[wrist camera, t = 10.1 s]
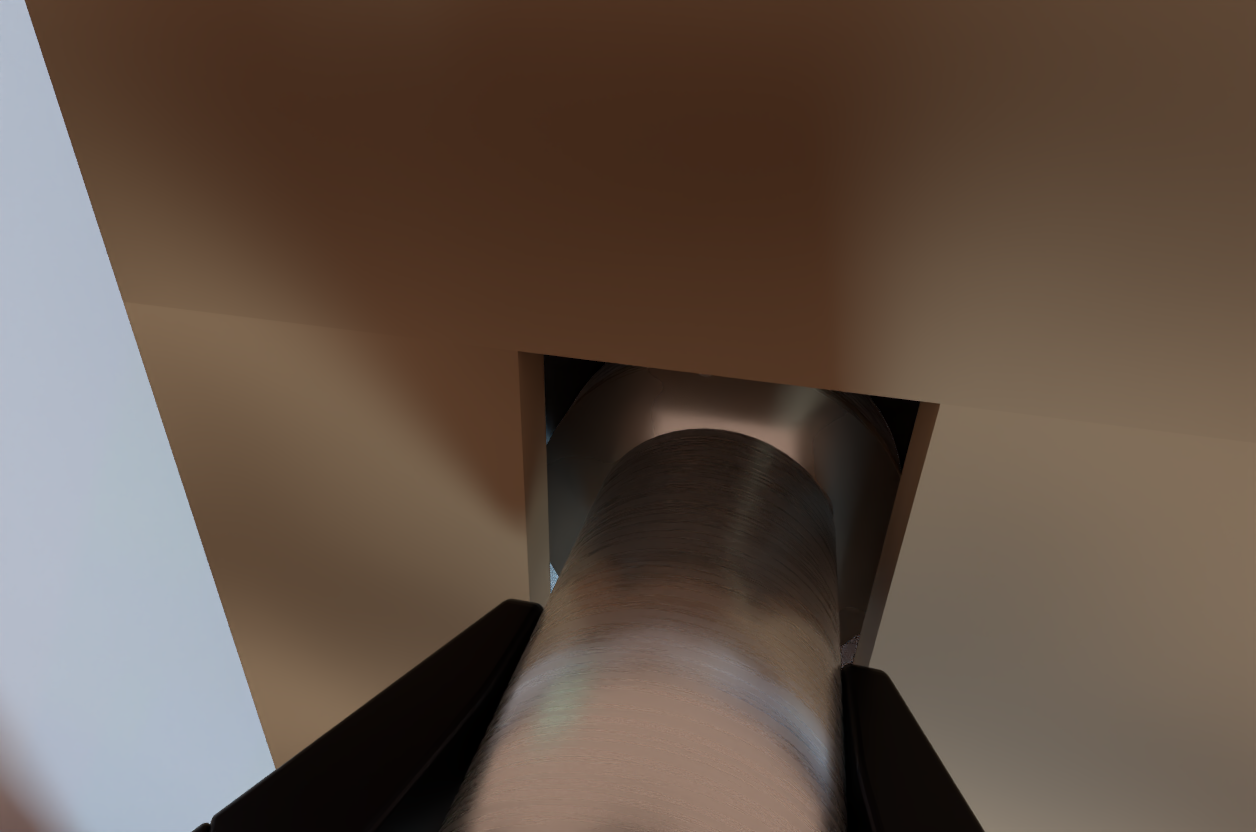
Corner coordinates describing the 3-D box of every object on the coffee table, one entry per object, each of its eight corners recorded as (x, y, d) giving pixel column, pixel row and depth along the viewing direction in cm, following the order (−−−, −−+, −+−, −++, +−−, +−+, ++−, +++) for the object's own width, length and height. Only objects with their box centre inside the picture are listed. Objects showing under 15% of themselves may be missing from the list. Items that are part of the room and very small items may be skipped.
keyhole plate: (974, 1030, 16) (1001, 1193, 14) (403, 873, 18) (347, 988, 16) (1571, -4, 6) (1985, -22, 4) (209, -33, 9) (6, -55, 7)
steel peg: (864, 638, 11) (919, 1329, 5) (562, 583, 12) (318, 1116, 6) (939, 348, 9) (1202, 1013, 3) (557, 306, 10) (148, 741, 4)
